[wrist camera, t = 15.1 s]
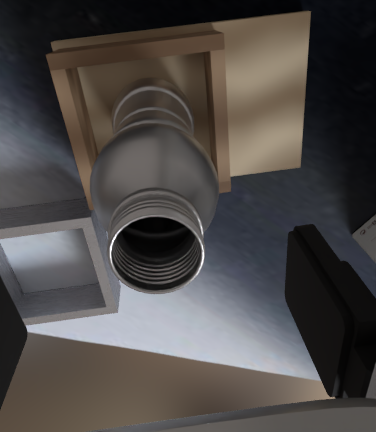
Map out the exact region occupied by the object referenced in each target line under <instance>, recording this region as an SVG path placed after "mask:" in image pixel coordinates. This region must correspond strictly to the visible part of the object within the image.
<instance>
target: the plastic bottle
mask: <svg viewBox="0 0 376 432" xmlns="http://www.w3.org/2000/svg"><path fill="white" fill-rule="evenodd" d="M111 120H112V129H113V134H114V135H113V137H112V138H111V139H110V140H109V141H108V142H107V143H106V145H105V146H104V147H103V148H102V150H101V152H100V154H99V155H98V157H97V159H96V161H95V163H94V165H93V168H92V172H91V176H90V194H91V200H92V204H93V207H94V210H95V212H96V215H97V217H98V220H99V221H100V223H101V224H102V226H103V227H104V229H105V230H106V231H107V232H108V245H107V256H108V262H109V265H110V267H111V270H112V271H113V273H114V274H115V276H116V277H117V278H118V279H119V280H120V281H121V282H122V283H123V284H125V285H127V286H128V287H130V288H132V289H134V290H136V291H139V292H143V293H149V294H165V293H169V292H173V291H176V290H179V289H181V288H183V287H184V286H186V285H188V284H189V283H190V282H191V281H192V280H194V279H195V277H196V276H197V275H198V274H199V272H200V270H201V268H202V266H203V262H204V258H205V245H204V240H203V238H204V232H205V230H206V229H207V228H208V226H209V225H210V223H211V221H212V219H213V217H214V214H215V210H216V206H217V202H218V198H219V182H218V176H217V172H216V170H215V167H214V165H213V162H212V161H211V159H210V157H209V155H208V154H207V152H206V151H205V149H204V148H203V146H202V145H201V144H200V143H199V142H198V141H197V140H196V139H195V138H194V137H193V133H194V115H193V110H192V107H191V105H190V102H189V101H188V99H187V97H186V96H185V94H184V93H183V92H182V91H181V90H180V89H179V88H178V87H176V86H175V85H173V84H172V83H170V82H168V81H165V80H163V79H158V78H143V79H139V80H136V81H134V82H132V83H130V84H129V85H127V86H126V87H125V88H124V89H123V90H122V91H121V92H120V93H119V95H118V96H117V98H116V100H115V102H114V105H113V109H112V117H111Z"/></svg>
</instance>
